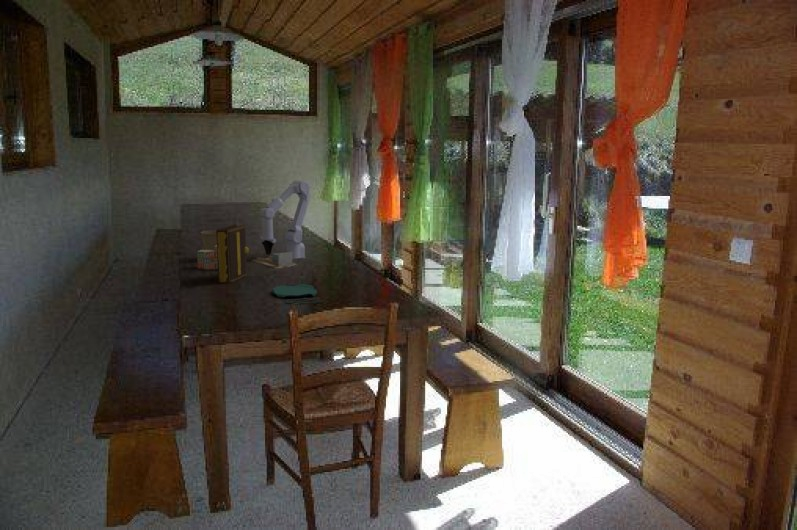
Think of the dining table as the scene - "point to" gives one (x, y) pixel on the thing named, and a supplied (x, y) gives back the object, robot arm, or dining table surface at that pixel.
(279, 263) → the shelf slot
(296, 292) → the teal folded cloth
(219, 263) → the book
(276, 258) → the blue-grey rectangular block
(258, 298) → the dining table surface
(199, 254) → the stack of blocks
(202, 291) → the dining table surface
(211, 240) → the plant pot
